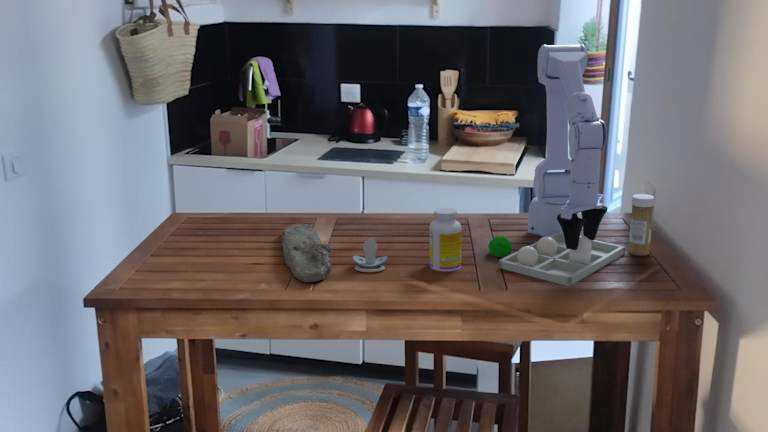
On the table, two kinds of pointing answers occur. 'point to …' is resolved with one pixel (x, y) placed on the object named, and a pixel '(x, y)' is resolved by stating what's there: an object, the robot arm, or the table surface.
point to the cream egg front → (527, 256)
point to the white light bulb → (581, 252)
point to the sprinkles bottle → (641, 224)
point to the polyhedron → (500, 247)
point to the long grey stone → (305, 253)
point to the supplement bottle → (445, 240)
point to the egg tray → (564, 262)
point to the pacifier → (369, 258)
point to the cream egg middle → (547, 246)
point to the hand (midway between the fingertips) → (580, 244)
